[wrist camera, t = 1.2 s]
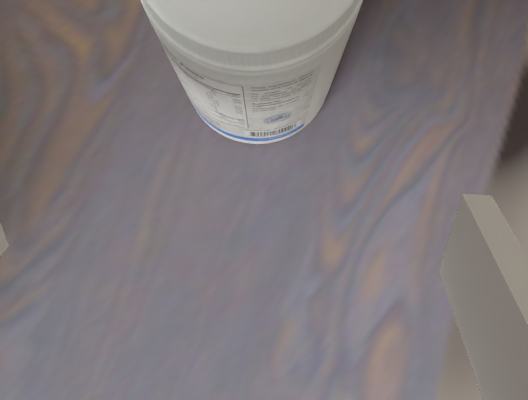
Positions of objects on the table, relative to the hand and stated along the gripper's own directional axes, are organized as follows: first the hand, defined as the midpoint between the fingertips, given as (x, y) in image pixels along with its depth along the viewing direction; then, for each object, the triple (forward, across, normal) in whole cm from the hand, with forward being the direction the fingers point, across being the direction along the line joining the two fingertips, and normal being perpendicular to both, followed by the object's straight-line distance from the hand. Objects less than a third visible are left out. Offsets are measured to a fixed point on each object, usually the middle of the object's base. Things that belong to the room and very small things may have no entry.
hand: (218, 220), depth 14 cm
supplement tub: (+20, 0, -4) cm, 21 cm away
